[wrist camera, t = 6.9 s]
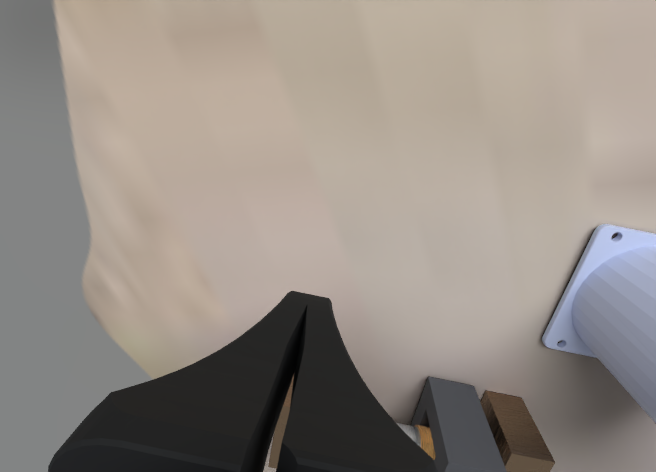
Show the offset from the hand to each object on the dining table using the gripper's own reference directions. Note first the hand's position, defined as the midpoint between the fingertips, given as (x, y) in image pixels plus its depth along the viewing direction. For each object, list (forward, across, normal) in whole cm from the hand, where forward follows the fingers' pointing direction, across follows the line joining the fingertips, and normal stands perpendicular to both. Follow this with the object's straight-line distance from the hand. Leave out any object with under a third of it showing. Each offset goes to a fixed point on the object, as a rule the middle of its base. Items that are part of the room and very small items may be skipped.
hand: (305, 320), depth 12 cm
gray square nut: (+10, -10, +12) cm, 18 cm away
